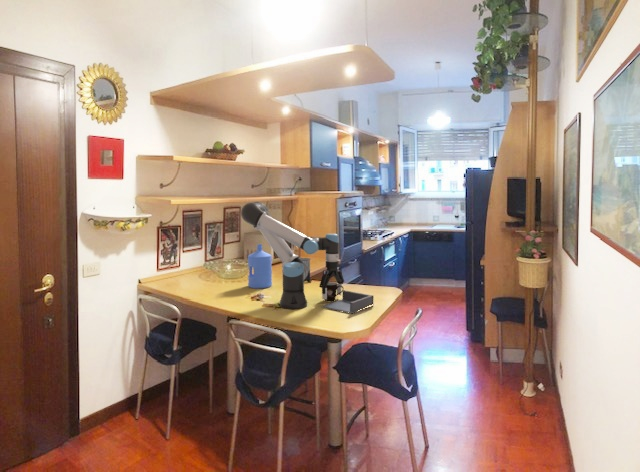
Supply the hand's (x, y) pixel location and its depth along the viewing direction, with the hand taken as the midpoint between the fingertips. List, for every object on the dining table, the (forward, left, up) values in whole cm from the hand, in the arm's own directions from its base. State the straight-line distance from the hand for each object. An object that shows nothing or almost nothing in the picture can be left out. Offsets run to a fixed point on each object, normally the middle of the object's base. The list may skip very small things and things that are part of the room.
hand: (332, 296), depth 247 cm
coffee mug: (0, 0, -2) cm, 2 cm away
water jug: (-1, +60, -2) cm, 60 cm away
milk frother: (+33, +50, -2) cm, 60 cm away
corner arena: (-5, -16, -2) cm, 17 cm away
